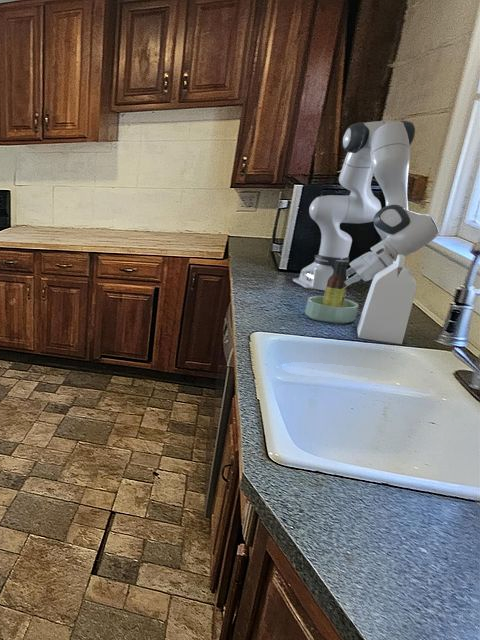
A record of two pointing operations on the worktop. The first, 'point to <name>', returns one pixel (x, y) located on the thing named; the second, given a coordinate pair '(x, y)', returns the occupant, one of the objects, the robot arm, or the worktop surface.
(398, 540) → the worktop surface
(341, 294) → the sauce bottle
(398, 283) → the milk
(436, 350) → the worktop surface
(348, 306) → the bowl
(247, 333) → the worktop surface
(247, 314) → the worktop surface
